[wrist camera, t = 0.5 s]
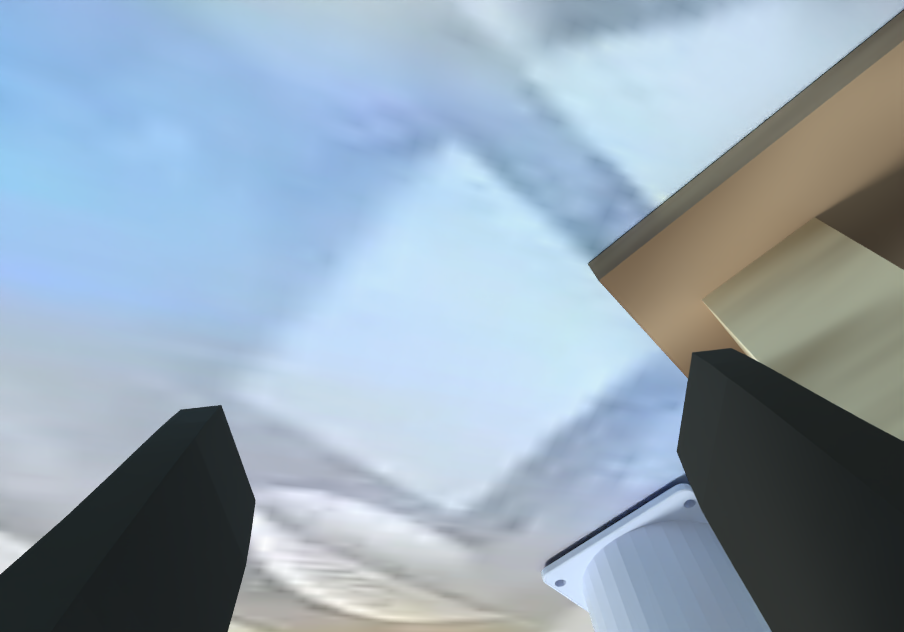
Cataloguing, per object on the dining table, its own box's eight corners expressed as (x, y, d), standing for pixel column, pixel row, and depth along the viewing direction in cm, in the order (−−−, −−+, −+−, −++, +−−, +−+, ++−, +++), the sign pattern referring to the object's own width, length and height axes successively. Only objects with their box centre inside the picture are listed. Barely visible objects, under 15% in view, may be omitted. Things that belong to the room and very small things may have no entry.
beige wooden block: (864, 298, 19) (1121, 478, 13) (758, 369, 21) (938, 569, 14) (814, 217, 18) (1078, 373, 11) (701, 299, 19) (875, 487, 12)
